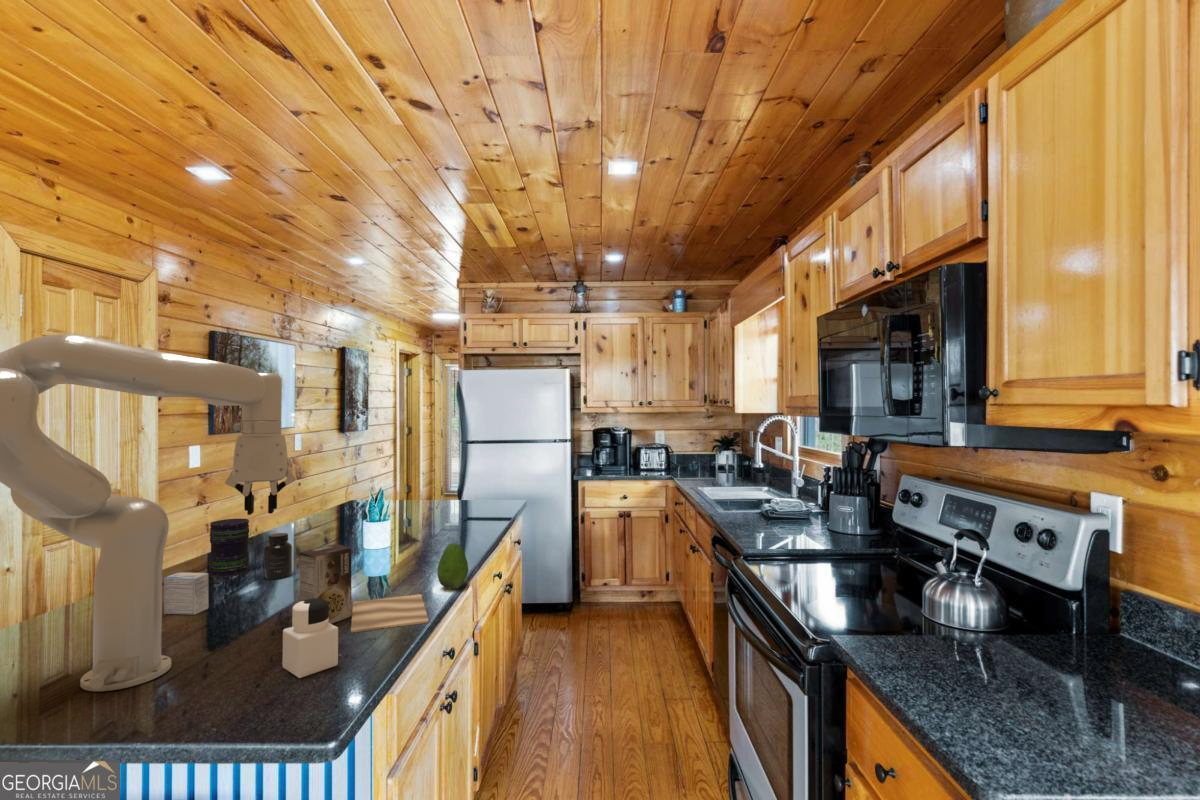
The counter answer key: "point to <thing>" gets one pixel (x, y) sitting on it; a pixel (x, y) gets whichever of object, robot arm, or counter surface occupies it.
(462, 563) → the avocado
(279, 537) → the supplement bottle
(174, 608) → the medicine box
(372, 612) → the wooden cutting board
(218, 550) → the dark purple cylinder
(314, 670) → the medicine bottle
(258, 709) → the counter surface
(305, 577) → the coffee box
